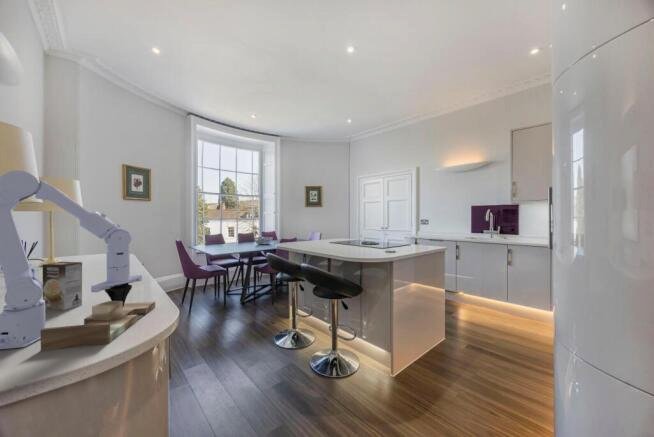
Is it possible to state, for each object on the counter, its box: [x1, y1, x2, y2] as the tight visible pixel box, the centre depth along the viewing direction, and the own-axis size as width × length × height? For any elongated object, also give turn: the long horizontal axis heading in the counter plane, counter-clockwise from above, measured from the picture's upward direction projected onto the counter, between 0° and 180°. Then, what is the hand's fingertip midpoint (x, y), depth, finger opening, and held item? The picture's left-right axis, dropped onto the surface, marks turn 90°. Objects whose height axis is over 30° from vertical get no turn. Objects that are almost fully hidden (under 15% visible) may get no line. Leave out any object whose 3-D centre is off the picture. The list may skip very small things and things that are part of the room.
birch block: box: [91, 300, 123, 320], centre depth 78 cm, size 5×5×4 cm
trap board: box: [40, 300, 156, 351], centre depth 78 cm, size 28×14×5 cm, turn 13°
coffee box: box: [42, 261, 83, 311], centre depth 93 cm, size 9×6×16 cm
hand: (118, 308), depth 83 cm, fingers closed
